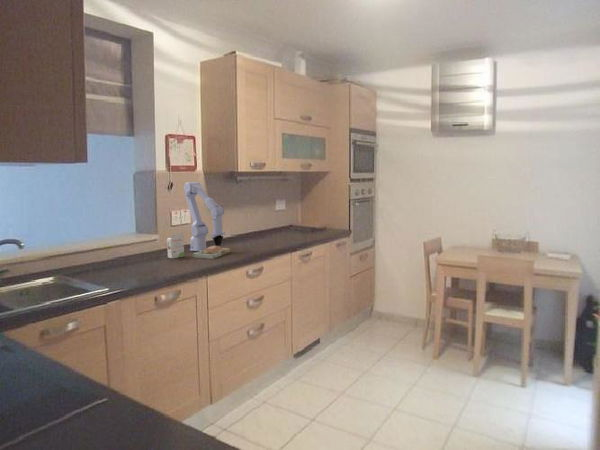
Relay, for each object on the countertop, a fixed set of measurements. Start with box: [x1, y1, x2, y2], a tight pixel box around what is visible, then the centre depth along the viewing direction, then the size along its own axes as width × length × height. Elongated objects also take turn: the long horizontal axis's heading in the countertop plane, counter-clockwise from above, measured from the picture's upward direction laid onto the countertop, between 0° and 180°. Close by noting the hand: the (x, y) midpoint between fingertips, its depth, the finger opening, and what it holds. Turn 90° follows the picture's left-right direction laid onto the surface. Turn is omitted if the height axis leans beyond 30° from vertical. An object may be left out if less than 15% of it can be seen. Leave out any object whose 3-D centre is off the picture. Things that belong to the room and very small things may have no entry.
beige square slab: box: [202, 247, 231, 257], centre depth 276 cm, size 13×12×2 cm
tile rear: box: [210, 245, 222, 250], centre depth 275 cm, size 5×5×2 cm
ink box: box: [166, 231, 185, 259], centre depth 264 cm, size 9×5×15 cm, turn 135°
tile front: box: [205, 246, 217, 252], centre depth 270 cm, size 5×5×2 cm
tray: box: [192, 251, 221, 260], centre depth 266 cm, size 14×9×2 cm
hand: (218, 247), depth 278 cm, fingers closed
